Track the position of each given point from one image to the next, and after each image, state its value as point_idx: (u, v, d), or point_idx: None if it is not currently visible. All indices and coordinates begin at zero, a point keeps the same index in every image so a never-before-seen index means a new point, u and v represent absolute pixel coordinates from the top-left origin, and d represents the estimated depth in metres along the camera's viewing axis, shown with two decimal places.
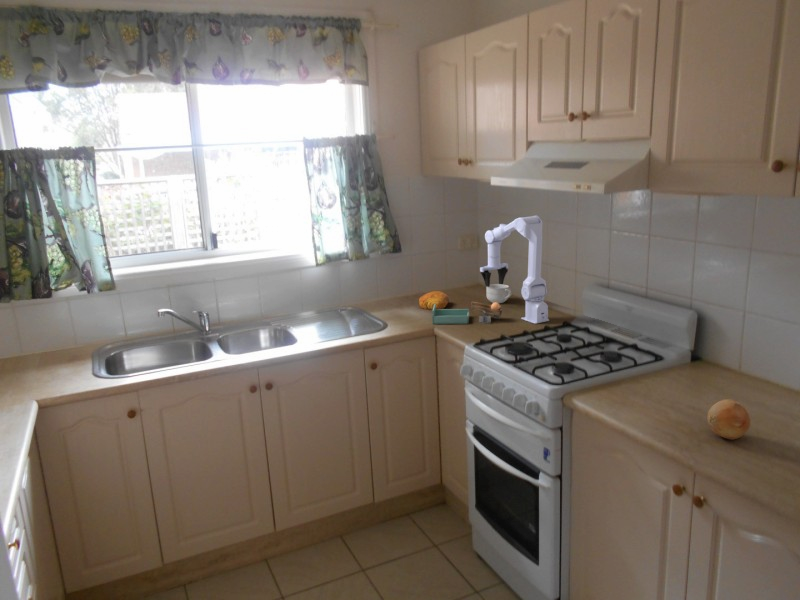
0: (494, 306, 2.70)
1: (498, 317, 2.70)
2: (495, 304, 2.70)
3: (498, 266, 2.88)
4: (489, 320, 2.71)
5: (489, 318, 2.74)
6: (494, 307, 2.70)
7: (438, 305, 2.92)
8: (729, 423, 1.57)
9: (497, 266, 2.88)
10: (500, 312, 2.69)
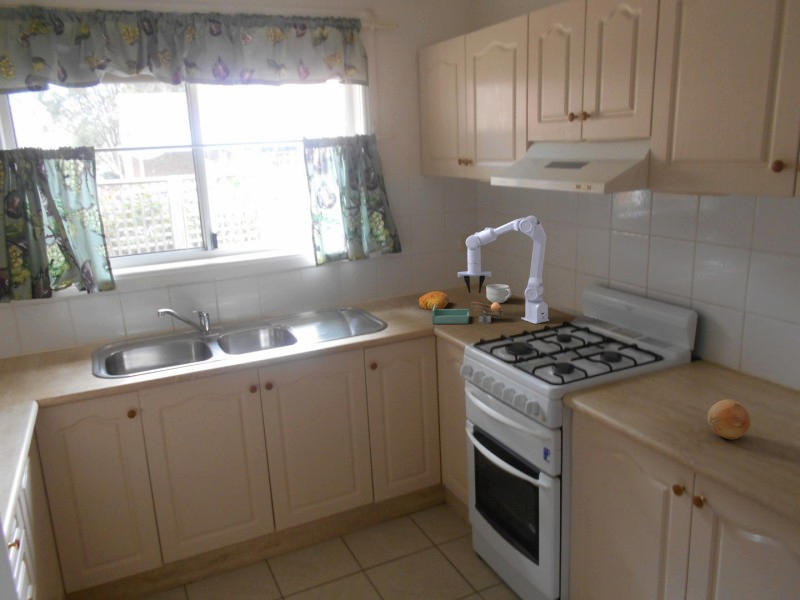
0: (494, 306, 2.70)
1: (498, 317, 2.70)
2: (495, 304, 2.70)
3: (474, 273, 2.74)
4: (489, 320, 2.71)
5: (489, 318, 2.74)
6: (494, 307, 2.70)
7: (438, 305, 2.92)
8: (729, 423, 1.57)
9: (473, 273, 2.74)
10: (500, 312, 2.69)
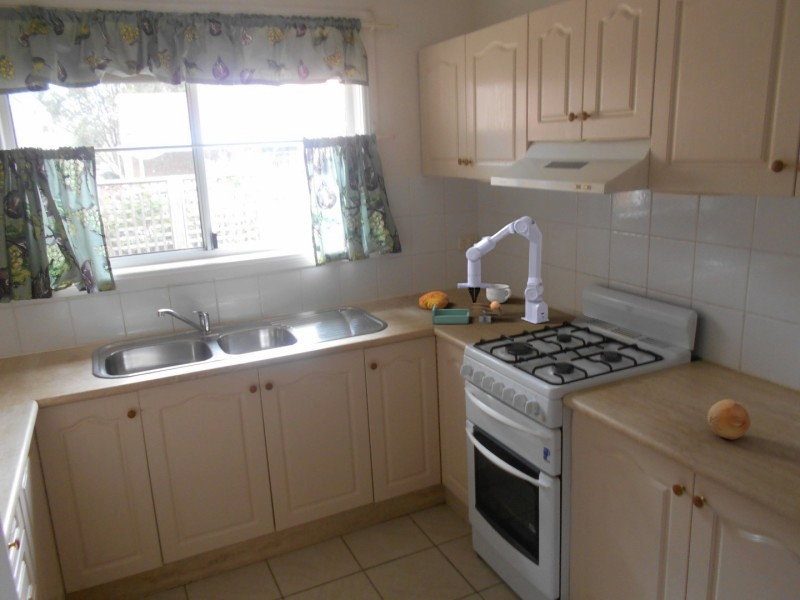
0: (493, 305, 2.70)
1: (499, 316, 2.70)
2: (494, 303, 2.70)
3: (474, 285, 2.75)
4: (489, 320, 2.71)
5: (489, 318, 2.74)
6: (494, 306, 2.70)
7: (438, 305, 2.92)
8: (729, 423, 1.57)
9: (473, 285, 2.75)
10: (500, 311, 2.68)
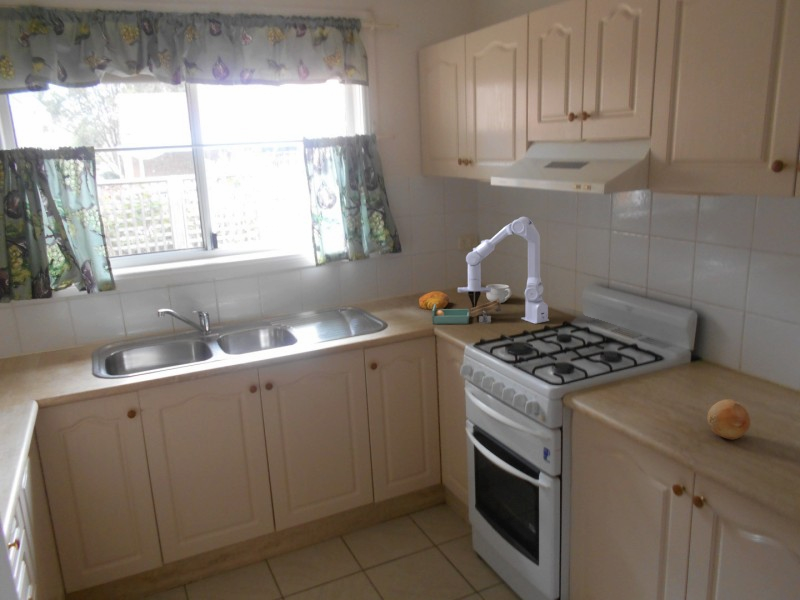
0: (438, 314, 2.74)
1: (499, 309, 2.69)
2: (439, 312, 2.74)
3: (474, 289, 2.76)
4: (489, 320, 2.71)
5: (489, 318, 2.74)
6: (438, 315, 2.74)
7: (438, 305, 2.92)
8: (729, 423, 1.57)
9: (473, 289, 2.76)
10: (498, 304, 2.68)
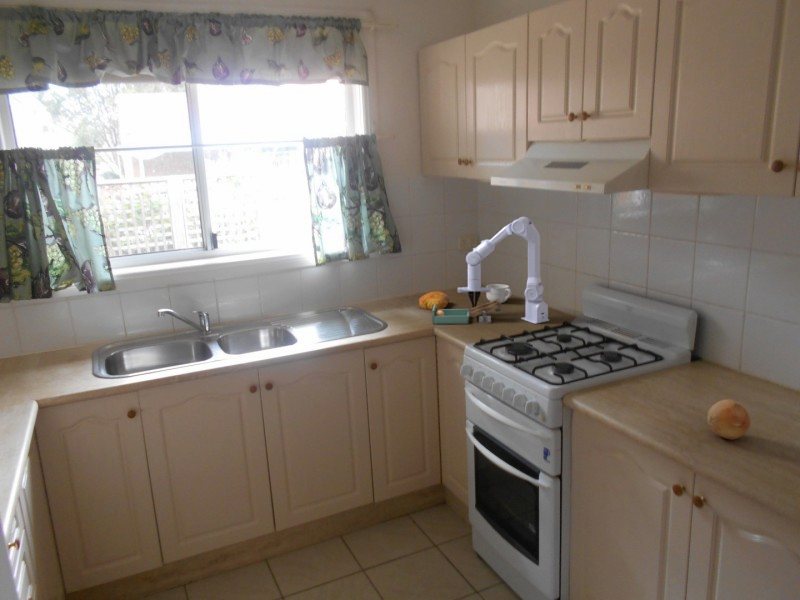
0: (438, 314, 2.74)
1: (499, 309, 2.69)
2: (439, 312, 2.74)
3: (474, 289, 2.76)
4: (489, 320, 2.71)
5: (489, 318, 2.74)
6: (438, 315, 2.74)
7: (438, 305, 2.92)
8: (729, 423, 1.57)
9: (473, 289, 2.76)
10: (498, 304, 2.68)
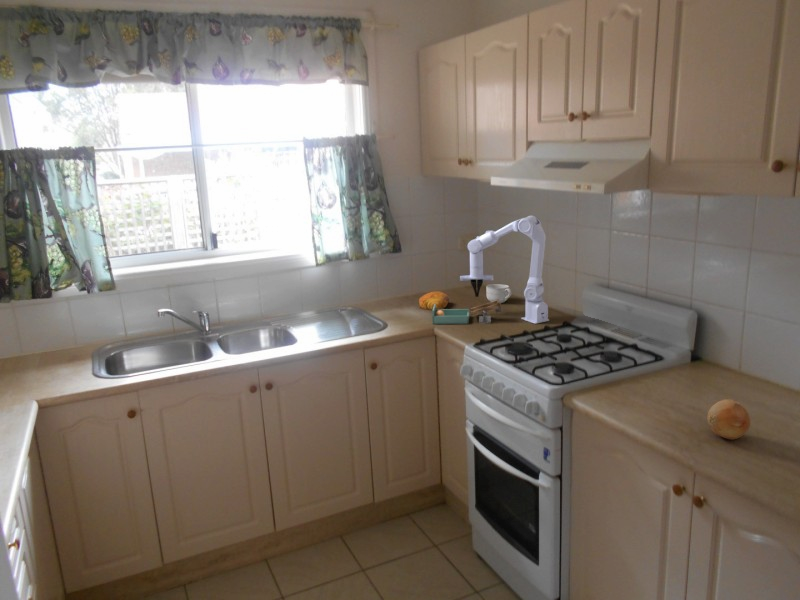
0: (438, 314, 2.74)
1: (499, 310, 2.69)
2: (439, 312, 2.74)
3: (477, 277, 2.76)
4: (489, 320, 2.71)
5: (489, 318, 2.74)
6: (438, 315, 2.74)
7: (438, 305, 2.92)
8: (729, 423, 1.57)
9: (475, 277, 2.76)
10: (498, 305, 2.68)
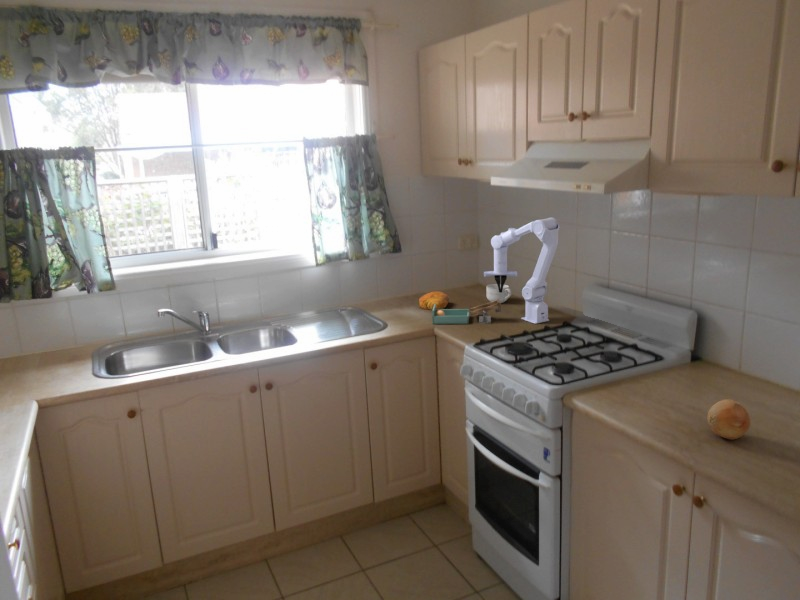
0: (439, 314, 2.74)
1: (499, 310, 2.69)
2: (440, 312, 2.74)
3: (501, 273, 2.77)
4: (489, 320, 2.71)
5: (489, 318, 2.74)
6: (438, 315, 2.74)
7: (438, 305, 2.92)
8: (729, 423, 1.57)
9: (500, 272, 2.77)
10: (498, 305, 2.68)
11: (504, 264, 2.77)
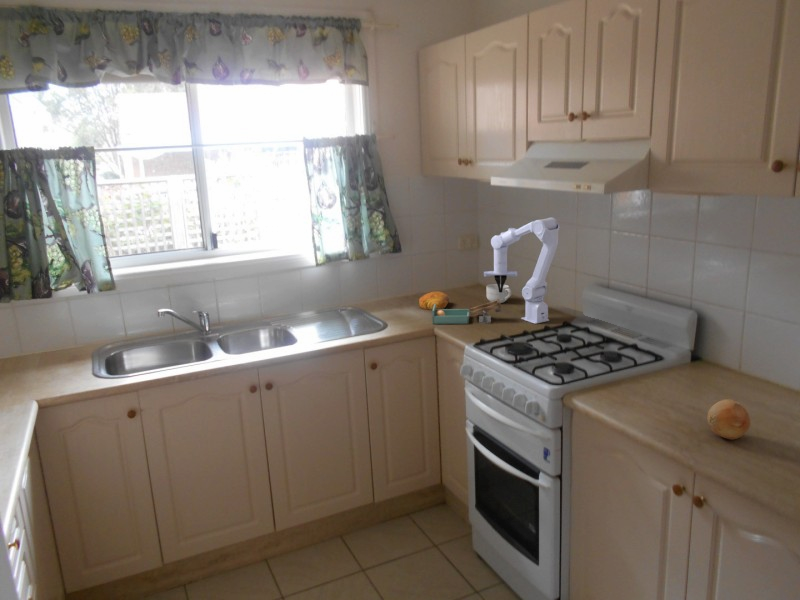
0: (439, 314, 2.74)
1: (499, 310, 2.69)
2: (440, 312, 2.74)
3: (501, 273, 2.77)
4: (489, 320, 2.71)
5: (489, 318, 2.74)
6: (439, 315, 2.74)
7: (438, 305, 2.92)
8: (729, 423, 1.57)
9: (500, 272, 2.77)
10: (498, 305, 2.68)
11: (504, 264, 2.77)
